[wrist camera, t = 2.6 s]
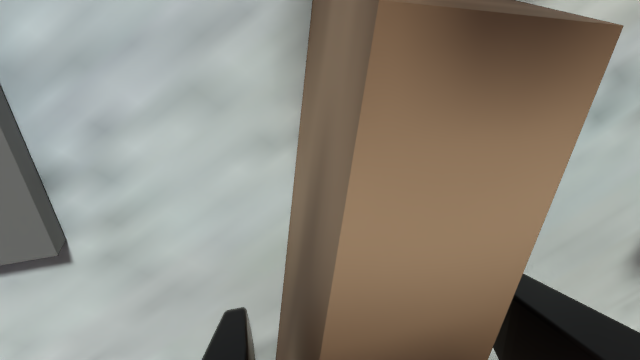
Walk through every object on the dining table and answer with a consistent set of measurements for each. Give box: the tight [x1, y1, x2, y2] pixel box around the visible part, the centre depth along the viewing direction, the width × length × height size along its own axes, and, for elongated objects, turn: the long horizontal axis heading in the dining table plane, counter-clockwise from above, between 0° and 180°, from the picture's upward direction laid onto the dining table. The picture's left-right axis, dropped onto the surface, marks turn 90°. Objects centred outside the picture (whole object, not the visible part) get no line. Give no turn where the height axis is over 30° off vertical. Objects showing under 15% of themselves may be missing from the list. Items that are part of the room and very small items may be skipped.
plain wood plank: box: [276, 0, 623, 360], centre depth 9 cm, size 12×3×4 cm, turn 173°
